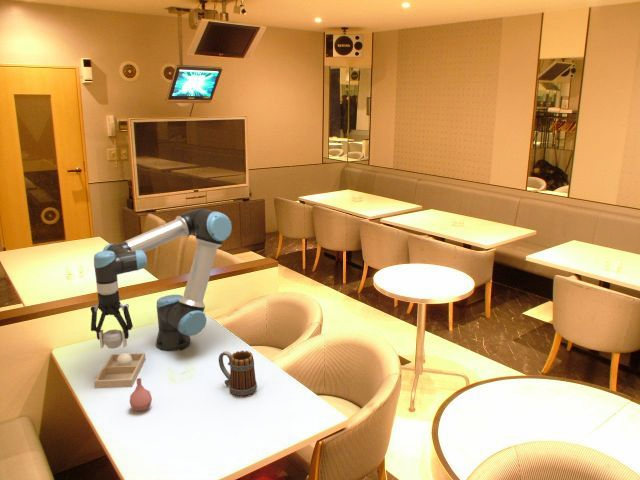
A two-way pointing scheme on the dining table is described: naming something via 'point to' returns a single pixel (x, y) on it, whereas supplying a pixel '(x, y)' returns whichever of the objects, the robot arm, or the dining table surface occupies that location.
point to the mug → (239, 373)
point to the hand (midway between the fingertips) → (114, 346)
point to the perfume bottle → (140, 397)
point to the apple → (112, 338)
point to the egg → (124, 359)
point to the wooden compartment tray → (120, 372)
